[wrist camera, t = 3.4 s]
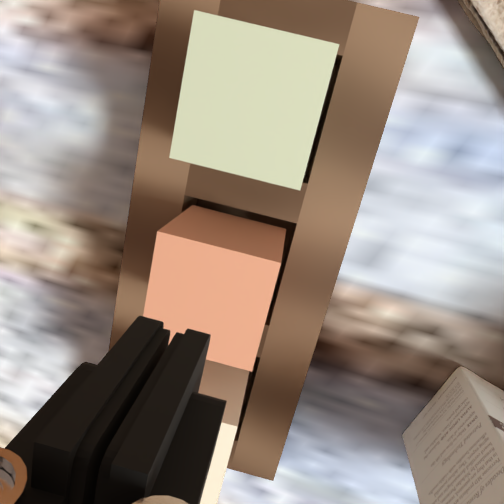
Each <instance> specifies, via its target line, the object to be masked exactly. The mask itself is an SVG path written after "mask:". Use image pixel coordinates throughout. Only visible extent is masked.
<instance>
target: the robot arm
mask: <svg viewBox="0 0 504 504" xmlns="http://www.w3.org/2000/svg"><path fill="white" fill-rule="evenodd" d="M210 337H211V334H207V333H203V332H200V331H196V330H192V329H187V330H186V331H185V333H184V334H182V333H179V332H176V334H175V335H174V337H173V339H172V340H171V342H170V344H169V339H170V330H168V329H164V323H163V322H162V321H159V320H155V319H151V318H148V317H144V316H138V317H137V318H136V319H135V321H134V322H133V323H132V324H131V325H130V327H129V328H128V329H127V330H126V332H125V333H124V334H123V335H122V336H121V338H120V339H119V340H118V341H117V342H116V344H115V345H114V346H113V347H112V348H111V350H110V351H109V352H108V353H107V354H106V356H105V357H104V358H103V359H102V360H101V362H100V363H99V364H98V365H95V364H91V363H88V362H85V363H82V364H81V365H80V366H79V367H78V368H77V369H76V370H75V371H74V372H73V373H72V374H71V375H70V376H69V378H68V379H67V380H66V381H65V382H64V383H63V384H62V385H61V386H60V388H59V389H58V390H57V391H56V392H55V393H54V394H53V395H52V396H51V398H50V399H49V400H48V401H47V402H46V403H45V404H44V405H43V406H42V408H41V409H40V410H39V411H38V412H37V413H36V414H35V415H34V416H33V418H32V419H31V420H30V421H29V422H28V423H27V424H26V425H25V426H24V428H23V429H22V430H21V431H20V432H19V433H18V434H17V435H16V436H15V437H14V439H13V440H12V441H11V442H10V443H9V444H8V445H7V446H6V447H5V449H4V448H0V504H200V501H201V497H202V494H203V490H204V486H205V483H206V479H207V475H208V472H209V468H210V465H211V461H212V457H213V453H214V450H215V446H216V442H217V438H218V434H219V430H220V427H221V423H222V419H223V415H224V411H225V407H226V403H227V401H226V400H222V399H218V398H215V397H211V396H208V395H204V394H200V393H198V392H199V387H200V383H201V378H202V374H203V369H204V365H205V361H206V356H207V352H208V347H209V343H210ZM168 344H169V345H168Z"/></svg>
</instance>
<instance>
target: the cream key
mask: <svg viewBox="0 0 504 504" xmlns="http://www.w3.org/2000/svg"><path fill="white" fill-rule="evenodd" d="M248 376H249V371H248V370H244V369H240V368H236V367H233V366H229V365H225V364H221V363H218V362H214V361H210V360H207V359H206V361H205V365H204V369H203V374H202V378H201V383H200V387H199V392H198V393H200V394H204V395H208V396H211V397H215V398H218V399H222V400H226V401H227V403H226V407H225V411H224V415H223V419H222V423H221V427H220V430H219V434H218V438H217V442H216V446H215V450H214V453H213V457H212V461H211V465H210V468H209V472H208V475H207V479H206V483H205V486H204V490H203V494H202V497H201V501H200V504H217V502H218V498H219V494H220V491H221V487H222V483H223V479H224V476H225V472H226V468H227V465H228V461H229V457H230V453H231V450H232V446H233V442H234V439H235V435H236V431H237V427H238V423H239V418H240V413H241V409H242V404H243V399H244V395H245V390H246V385H247V380H248Z"/></svg>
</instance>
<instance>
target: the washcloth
mask: <svg viewBox="0 0 504 504" xmlns="http://www.w3.org/2000/svg"><path fill="white" fill-rule="evenodd" d="M458 2H459V4H460V5H461V7H462V8H463V10H464V12H465V14H466V15H467V16H468V18H469V19H470V21H471V22H472V23H473V24H474V26H475V28H476V29H477V30H478V31H479V32H480V34H481V35H482V36H483V37H484V38H485V39H486V40H487V42H488V43H489V44H490V45H491V47H492V49H493V51H494V52H495V54H496V56H497V58H498V60H499V61H500V63H501V65H502V67H503V68H504V0H458Z"/></svg>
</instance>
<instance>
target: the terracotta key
mask: <svg viewBox="0 0 504 504" xmlns="http://www.w3.org/2000/svg"><path fill="white" fill-rule="evenodd" d="M285 234H286V229H285V228H281V227H277V226H273V225H269V224H266V223H262V222H258V221H254V220H250V219H246V218H242V217H238V216H234V215H230V214H226V213H222V212H218V211H214V210H210V209H207V208H203V207H199V206H195V205H192V206H190V207H189V208H188V209H186V210H185V211H184V212H182V213H181V214H180V215H178V216H177V217H176V218H174V219H173V220H172V221H170V222H169V223H168V224H166V225H165V226H164V227H162V228H161V229H160V230H158V231H157V236H156V242H155V248H154V254H153V260H152V266H151V272H150V277H149V283H148V289H147V295H146V301H145V307H144V313H143V316H144V317H148V318H151V319H155V320H159V321H162V322H163V323H164V329H168V330H170V339H169V344H170V342H171V340H172V339H173V337H174V335H175V334H176V332H179V333H182V334H184V333H185V331H186V330H187V329H192V330H196V331H200V332H203V333H207V334H211V337H210V343H209V347H208V352H207V356H206V359H207V360H210V361H214V362H218V363H221V364H225V365H229V366H233V367H236V368H240V369H244V370H248V371H251V372H252V370H253V366H254V363H255V359H256V355H257V351H258V348H259V344H260V340H261V337H262V333H263V329H264V325H265V322H266V318H267V314H268V310H269V307H270V303H271V299H272V296H273V292H274V288H275V284H276V281H277V277H278V273H279V270H280V266H281V261H282V255H283V248H284V241H285ZM169 344H168V345H169Z"/></svg>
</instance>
